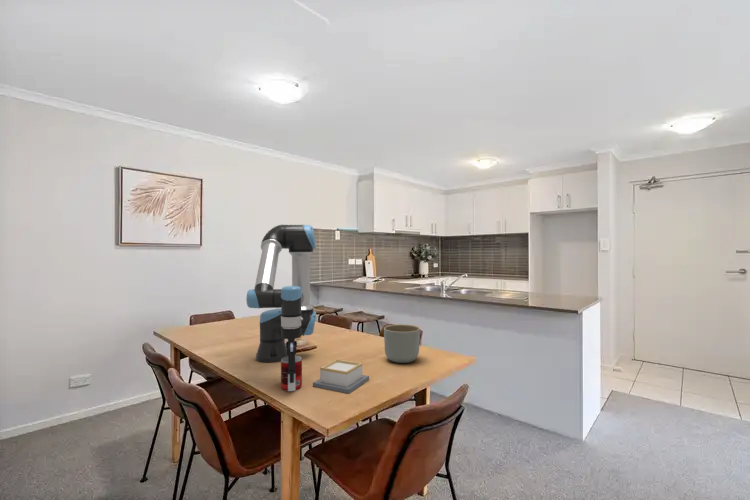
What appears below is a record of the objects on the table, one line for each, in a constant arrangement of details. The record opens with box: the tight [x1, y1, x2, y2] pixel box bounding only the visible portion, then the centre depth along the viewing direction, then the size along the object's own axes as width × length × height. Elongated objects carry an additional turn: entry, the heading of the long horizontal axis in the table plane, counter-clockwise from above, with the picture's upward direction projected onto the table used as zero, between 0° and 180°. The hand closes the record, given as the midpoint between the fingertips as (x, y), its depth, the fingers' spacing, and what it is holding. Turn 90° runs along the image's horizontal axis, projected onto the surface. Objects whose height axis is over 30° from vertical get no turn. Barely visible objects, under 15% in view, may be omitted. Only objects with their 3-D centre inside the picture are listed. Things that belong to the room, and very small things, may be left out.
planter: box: [383, 323, 421, 364], centre depth 173 cm, size 17×17×15 cm
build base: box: [312, 358, 370, 394], centre depth 143 cm, size 16×16×7 cm
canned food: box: [280, 355, 303, 392], centre depth 139 cm, size 8×8×11 cm
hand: (291, 386), depth 139 cm, fingers open, 8 cm apart
